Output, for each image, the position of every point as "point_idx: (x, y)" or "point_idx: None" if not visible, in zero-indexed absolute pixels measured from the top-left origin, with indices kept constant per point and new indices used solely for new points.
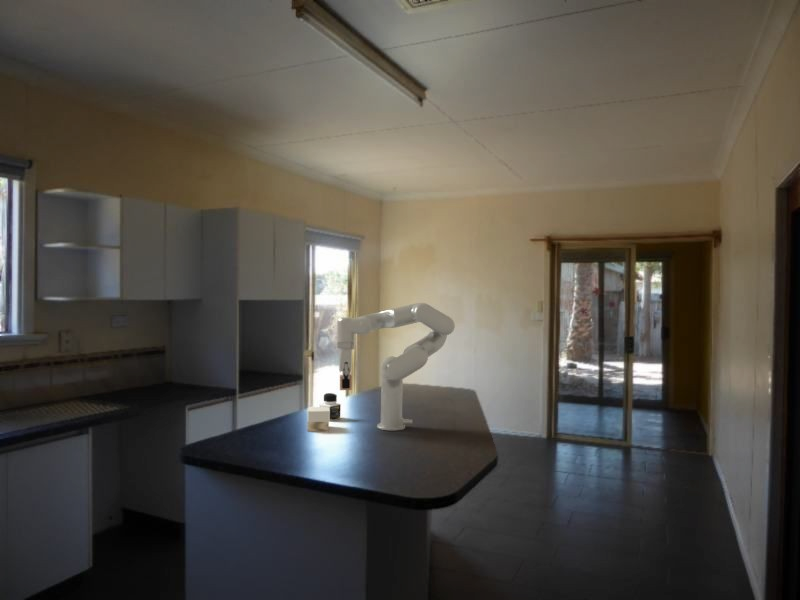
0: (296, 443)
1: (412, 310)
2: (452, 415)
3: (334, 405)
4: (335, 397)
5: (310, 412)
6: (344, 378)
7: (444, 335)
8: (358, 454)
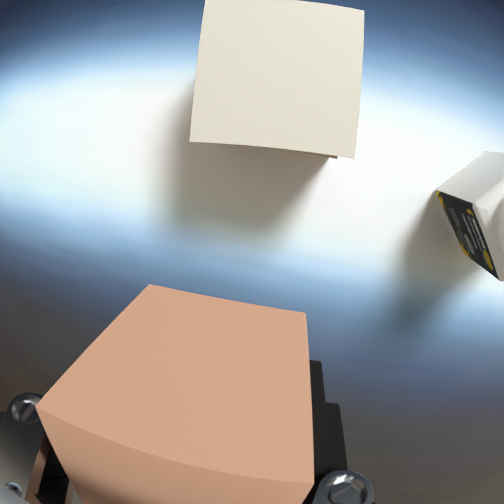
0: (62, 21)
1: None
2: None
3: (488, 239)
4: None
5: (205, 13)
6: (18, 413)
7: None
8: None
